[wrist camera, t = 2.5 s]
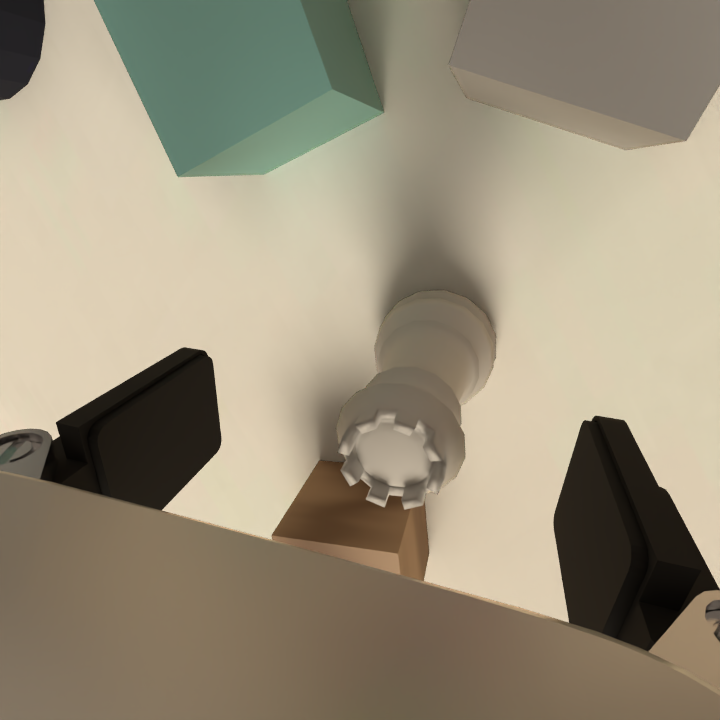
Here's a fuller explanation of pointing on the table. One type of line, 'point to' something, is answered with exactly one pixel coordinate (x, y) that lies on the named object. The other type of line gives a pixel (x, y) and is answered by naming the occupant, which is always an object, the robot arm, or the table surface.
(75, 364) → the table surface
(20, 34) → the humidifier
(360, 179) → the table surface
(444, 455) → the rook chess piece
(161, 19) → the teal cube
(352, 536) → the walnut cube
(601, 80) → the grey cube
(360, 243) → the table surface
